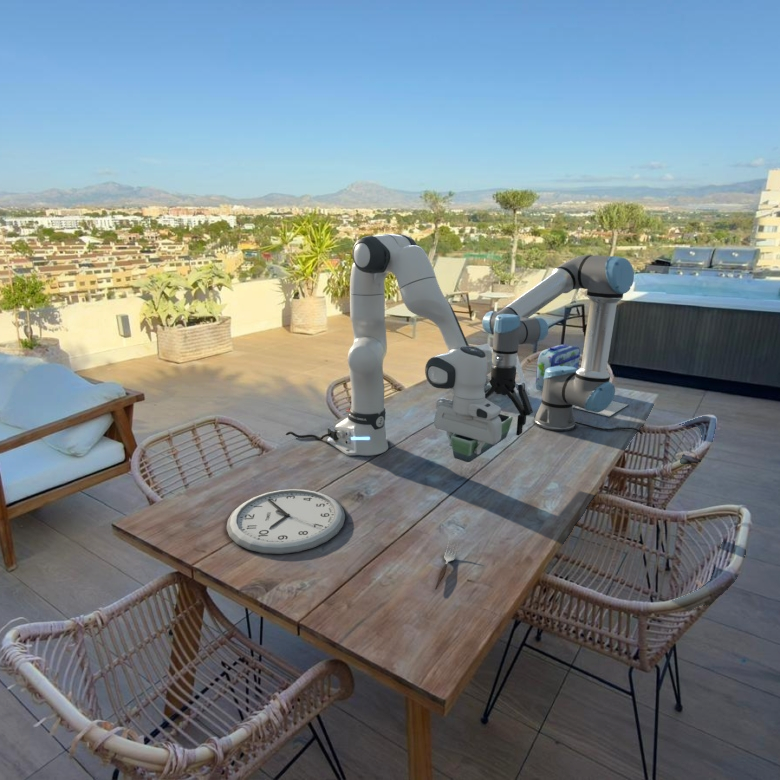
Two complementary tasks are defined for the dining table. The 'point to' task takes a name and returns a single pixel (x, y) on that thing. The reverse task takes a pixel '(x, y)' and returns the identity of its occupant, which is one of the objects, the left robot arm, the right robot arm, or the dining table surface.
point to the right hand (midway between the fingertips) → (499, 429)
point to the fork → (448, 558)
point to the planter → (476, 442)
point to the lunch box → (556, 360)
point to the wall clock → (285, 521)
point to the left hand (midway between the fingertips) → (464, 449)
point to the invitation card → (608, 409)
